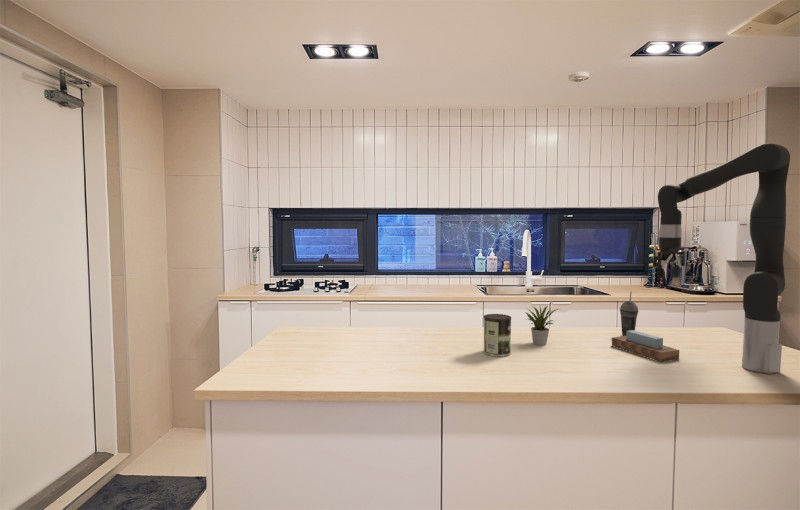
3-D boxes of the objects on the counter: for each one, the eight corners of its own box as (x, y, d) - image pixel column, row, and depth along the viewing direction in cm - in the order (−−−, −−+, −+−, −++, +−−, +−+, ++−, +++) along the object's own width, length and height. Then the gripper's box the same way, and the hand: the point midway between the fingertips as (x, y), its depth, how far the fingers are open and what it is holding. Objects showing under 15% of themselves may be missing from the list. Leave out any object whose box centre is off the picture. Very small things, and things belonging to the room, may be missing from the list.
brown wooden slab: (679, 359, 160) (679, 350, 159) (660, 362, 157) (661, 352, 156) (628, 343, 180) (628, 335, 180) (611, 346, 177) (611, 337, 177)
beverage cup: (633, 334, 195) (634, 290, 194) (640, 339, 188) (642, 292, 186) (616, 334, 196) (617, 289, 194) (622, 338, 189) (624, 292, 187)
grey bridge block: (662, 355, 163) (663, 338, 162) (655, 356, 162) (656, 339, 161) (632, 346, 175) (633, 330, 174) (626, 347, 174) (626, 330, 173)
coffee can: (510, 349, 172) (510, 314, 171) (511, 357, 162) (512, 319, 161) (483, 348, 174) (483, 313, 173) (482, 355, 164) (483, 318, 163)
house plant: (556, 339, 187) (557, 301, 186) (564, 348, 174) (566, 307, 172) (521, 338, 189) (522, 300, 188) (527, 347, 175) (528, 306, 174)
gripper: (665, 236, 166) (663, 279, 167) (692, 236, 171) (690, 277, 172) (648, 236, 173) (646, 277, 174) (674, 235, 178) (672, 275, 179)
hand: (668, 277), depth 173 cm, fingers open, 8 cm apart
